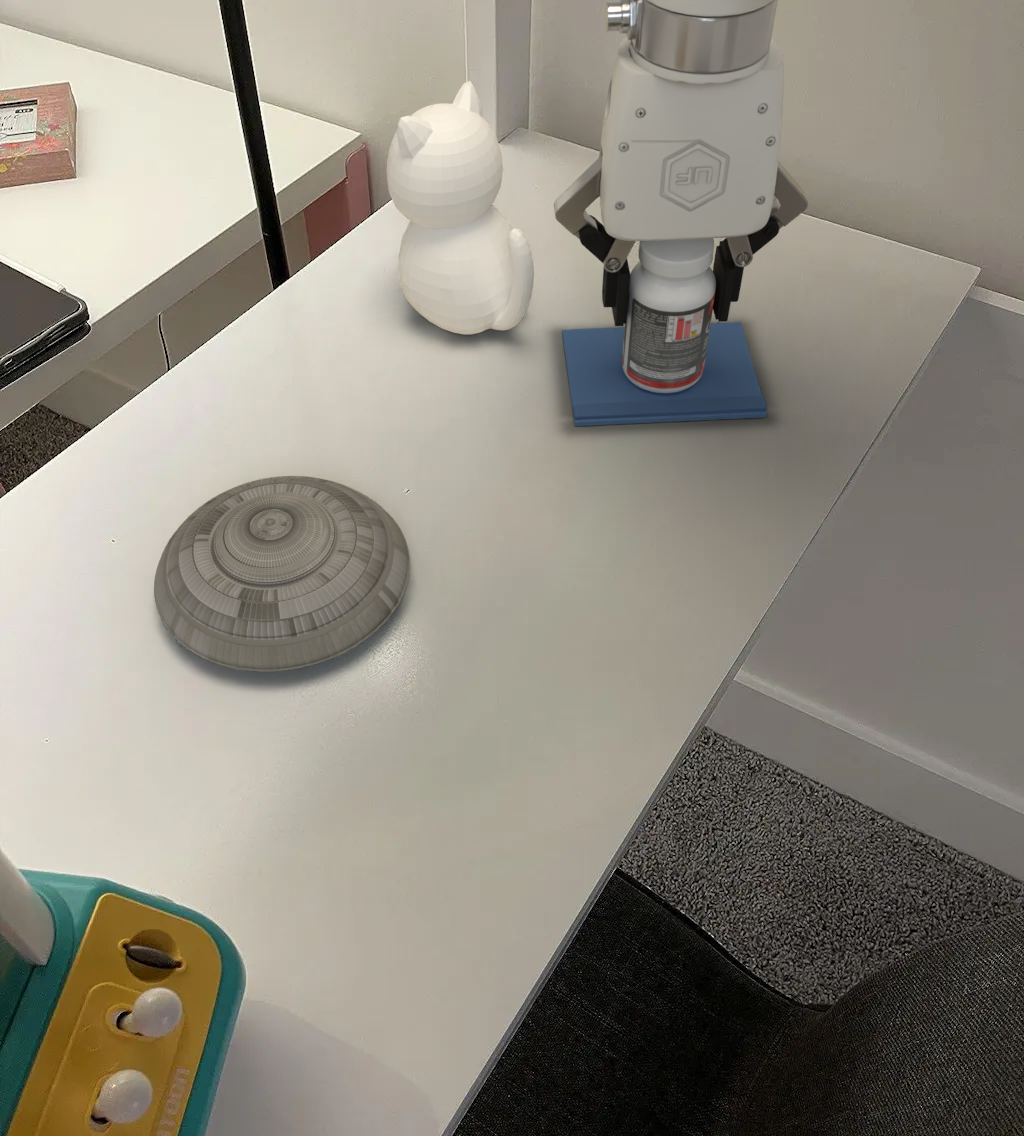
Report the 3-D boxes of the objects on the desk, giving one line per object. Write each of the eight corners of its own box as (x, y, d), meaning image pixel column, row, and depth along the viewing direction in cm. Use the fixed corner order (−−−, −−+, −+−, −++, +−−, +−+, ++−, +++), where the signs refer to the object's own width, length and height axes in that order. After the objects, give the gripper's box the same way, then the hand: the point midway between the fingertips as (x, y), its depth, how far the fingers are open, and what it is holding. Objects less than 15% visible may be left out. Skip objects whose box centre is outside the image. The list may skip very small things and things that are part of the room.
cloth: (739, 326, 82) (741, 318, 82) (766, 417, 76) (767, 409, 76) (562, 334, 82) (562, 325, 81) (574, 426, 76) (574, 418, 75)
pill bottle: (717, 384, 78) (739, 255, 70) (643, 405, 77) (656, 276, 69) (680, 336, 81) (696, 207, 73) (607, 355, 80) (616, 226, 72)
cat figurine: (452, 253, 88) (440, 53, 76) (574, 318, 83) (582, 115, 71) (368, 306, 84) (341, 104, 72) (492, 378, 79) (485, 174, 67)
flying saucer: (325, 724, 62) (310, 663, 57) (108, 630, 66) (78, 566, 61) (456, 544, 70) (451, 478, 65) (254, 470, 74) (237, 403, 69)
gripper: (546, 63, 58) (542, 353, 72) (879, 50, 58) (808, 341, 73) (536, -3, 62) (534, 283, 77) (845, -14, 63) (785, 272, 77)
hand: (668, 309), depth 75 cm, fingers open, 6 cm apart
